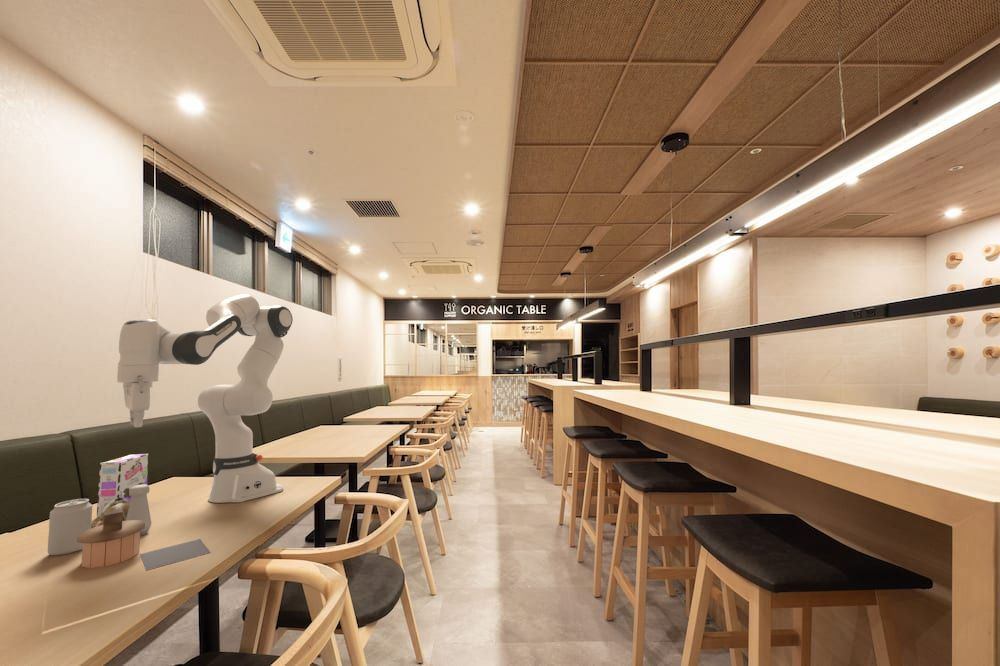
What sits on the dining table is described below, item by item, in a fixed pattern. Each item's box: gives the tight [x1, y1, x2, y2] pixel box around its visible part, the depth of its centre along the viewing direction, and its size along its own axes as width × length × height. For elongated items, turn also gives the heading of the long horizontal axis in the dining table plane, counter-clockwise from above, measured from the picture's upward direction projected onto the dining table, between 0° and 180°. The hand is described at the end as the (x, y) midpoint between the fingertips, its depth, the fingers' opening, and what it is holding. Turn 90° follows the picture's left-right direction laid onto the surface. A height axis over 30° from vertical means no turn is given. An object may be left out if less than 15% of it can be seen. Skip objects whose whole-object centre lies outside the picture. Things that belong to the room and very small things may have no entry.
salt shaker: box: [126, 484, 152, 537], centre depth 116 cm, size 6×6×13 cm
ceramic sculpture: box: [93, 497, 130, 528], centre depth 121 cm, size 11×9×15 cm
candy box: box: [96, 453, 149, 518], centre depth 137 cm, size 14×6×16 cm, turn 9°
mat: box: [139, 538, 212, 571], centre depth 102 cm, size 12×12×1 cm
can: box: [47, 498, 93, 557], centre depth 106 cm, size 8×8×12 cm
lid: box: [77, 509, 145, 543], centre depth 101 cm, size 12×12×5 cm
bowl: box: [81, 531, 141, 569], centre depth 101 cm, size 10×10×6 cm
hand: (136, 425), depth 119 cm, fingers open, 8 cm apart
